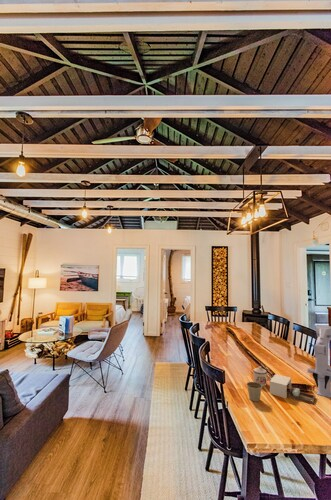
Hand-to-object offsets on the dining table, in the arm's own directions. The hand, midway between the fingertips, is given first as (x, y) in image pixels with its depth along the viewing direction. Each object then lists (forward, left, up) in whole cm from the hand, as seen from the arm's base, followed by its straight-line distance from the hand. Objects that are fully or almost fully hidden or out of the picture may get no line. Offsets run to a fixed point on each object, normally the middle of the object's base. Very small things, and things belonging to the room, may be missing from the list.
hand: (321, 387), depth 161 cm
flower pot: (+21, -34, -10) cm, 41 cm away
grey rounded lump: (+2, -14, -9) cm, 17 cm away
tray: (0, -11, -10) cm, 15 cm away
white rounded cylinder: (-2, -14, -9) cm, 17 cm away
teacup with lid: (-5, -37, -10) cm, 39 cm away
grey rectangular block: (0, -24, -9) cm, 25 cm away
